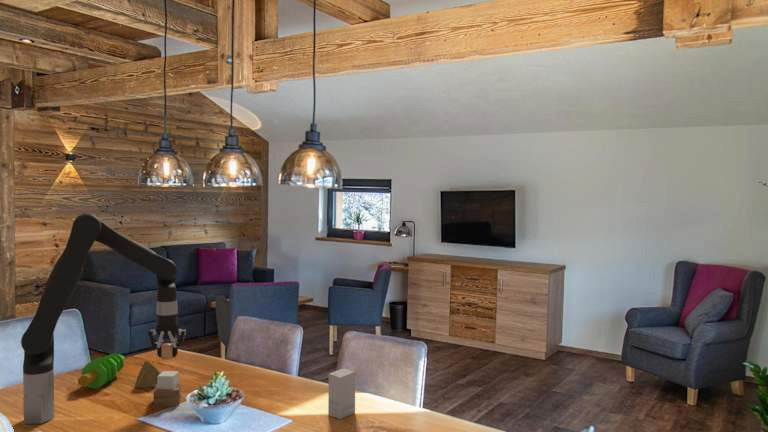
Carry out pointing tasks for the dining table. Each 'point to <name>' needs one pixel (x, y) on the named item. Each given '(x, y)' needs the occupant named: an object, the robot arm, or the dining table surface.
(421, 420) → the dining table surface
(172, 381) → the grey block
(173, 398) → the walnut block
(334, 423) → the dining table surface
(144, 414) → the dining table surface
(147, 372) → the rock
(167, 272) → the robot arm
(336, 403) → the skincare box
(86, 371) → the decorative tree
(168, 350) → the pinkish tan cube
